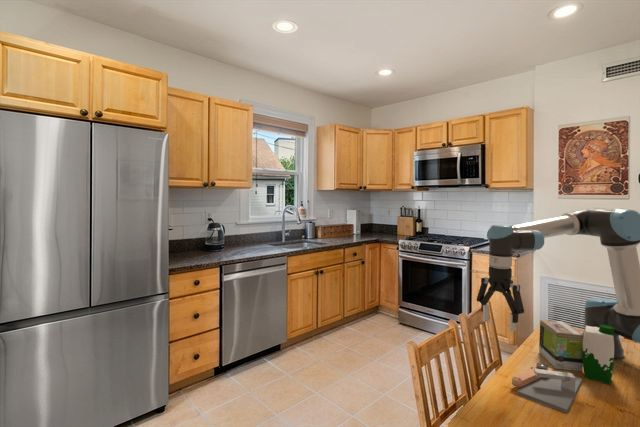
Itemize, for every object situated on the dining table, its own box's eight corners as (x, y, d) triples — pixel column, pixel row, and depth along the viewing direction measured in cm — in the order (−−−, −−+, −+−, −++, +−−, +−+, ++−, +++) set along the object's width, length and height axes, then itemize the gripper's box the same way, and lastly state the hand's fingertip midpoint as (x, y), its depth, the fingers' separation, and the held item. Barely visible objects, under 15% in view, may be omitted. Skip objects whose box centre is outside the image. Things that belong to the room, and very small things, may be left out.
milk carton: (613, 386, 118) (615, 332, 117) (581, 378, 124) (583, 325, 123) (612, 376, 125) (614, 324, 124) (581, 368, 131) (583, 319, 130)
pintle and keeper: (539, 370, 127) (539, 357, 127) (581, 388, 115) (582, 374, 115) (520, 379, 121) (520, 365, 121) (562, 399, 109) (562, 384, 109)
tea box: (583, 372, 129) (585, 334, 128) (554, 369, 131) (556, 332, 130) (563, 354, 143) (565, 320, 143) (538, 352, 145) (539, 318, 145)
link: (538, 368, 128) (538, 363, 128) (553, 374, 124) (553, 369, 124) (507, 382, 119) (507, 376, 119) (521, 389, 114) (521, 384, 114)
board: (537, 367, 132) (537, 364, 132) (581, 381, 122) (582, 378, 122) (517, 394, 114) (517, 390, 114) (567, 413, 104) (567, 409, 104)
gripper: (467, 262, 131) (466, 318, 132) (525, 273, 111) (523, 339, 112) (479, 260, 134) (478, 314, 135) (537, 271, 115) (535, 334, 116)
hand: (498, 325), depth 124 cm, fingers open, 10 cm apart
